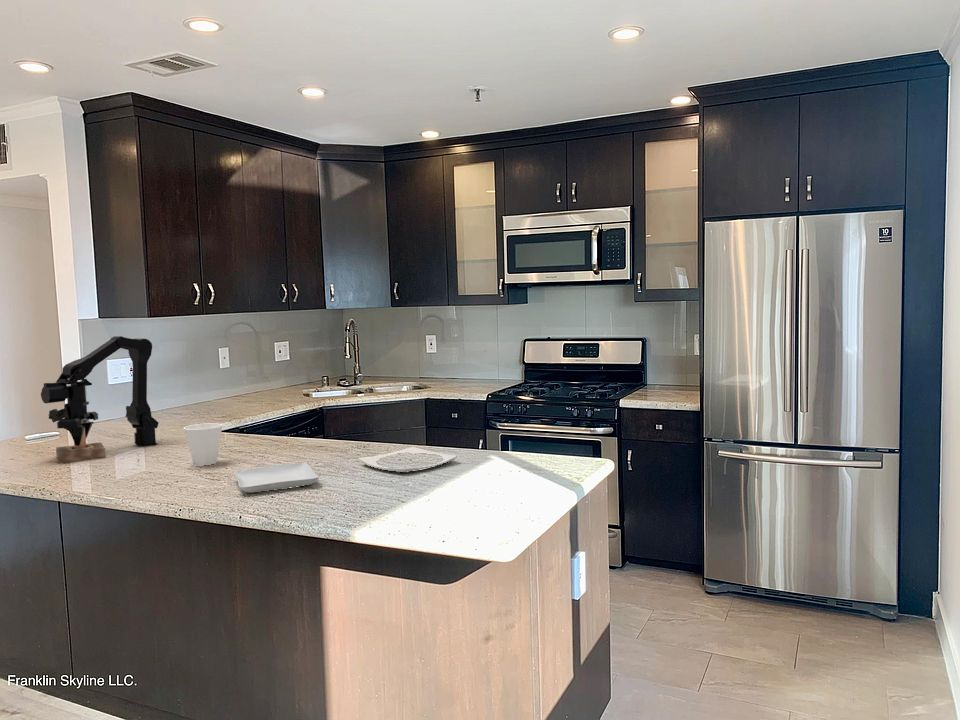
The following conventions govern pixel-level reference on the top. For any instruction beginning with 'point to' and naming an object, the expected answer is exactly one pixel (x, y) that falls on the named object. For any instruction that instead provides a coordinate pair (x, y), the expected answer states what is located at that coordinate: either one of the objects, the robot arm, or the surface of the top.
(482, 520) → the top surface
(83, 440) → the peg
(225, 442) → the top surface
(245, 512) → the top surface
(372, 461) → the plate
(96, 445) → the socket block
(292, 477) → the salad plate
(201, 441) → the cup
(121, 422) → the top surface
